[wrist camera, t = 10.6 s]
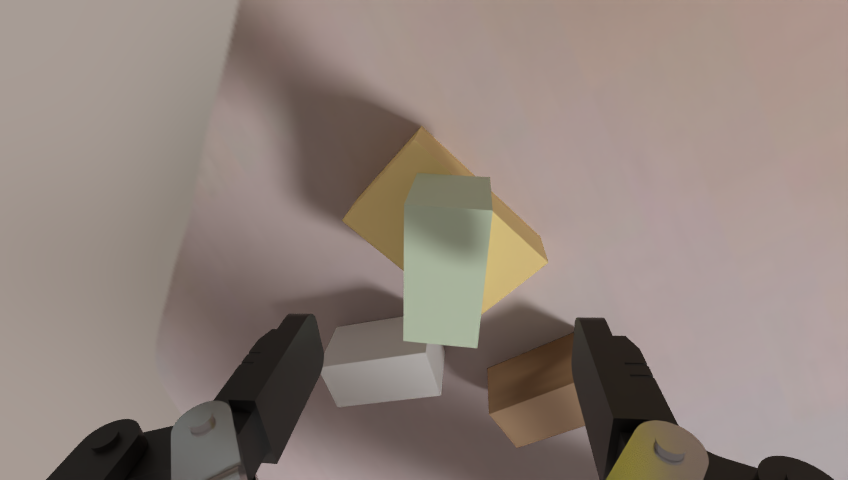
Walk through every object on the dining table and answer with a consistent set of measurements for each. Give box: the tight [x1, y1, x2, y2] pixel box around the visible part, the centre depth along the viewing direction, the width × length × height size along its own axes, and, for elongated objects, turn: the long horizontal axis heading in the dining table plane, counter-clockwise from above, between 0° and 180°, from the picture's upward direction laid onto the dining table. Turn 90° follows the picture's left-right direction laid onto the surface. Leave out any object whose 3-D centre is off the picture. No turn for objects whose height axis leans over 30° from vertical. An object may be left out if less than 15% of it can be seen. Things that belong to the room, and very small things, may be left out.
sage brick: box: [403, 173, 493, 348], centre depth 17 cm, size 6×3×4 cm, turn 178°
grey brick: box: [320, 316, 445, 407], centre depth 23 cm, size 6×3×4 cm, turn 106°
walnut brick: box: [487, 333, 585, 448], centre depth 23 cm, size 6×3×4 cm, turn 125°
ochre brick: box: [342, 126, 548, 315], centre depth 20 cm, size 8×5×3 cm, turn 48°
